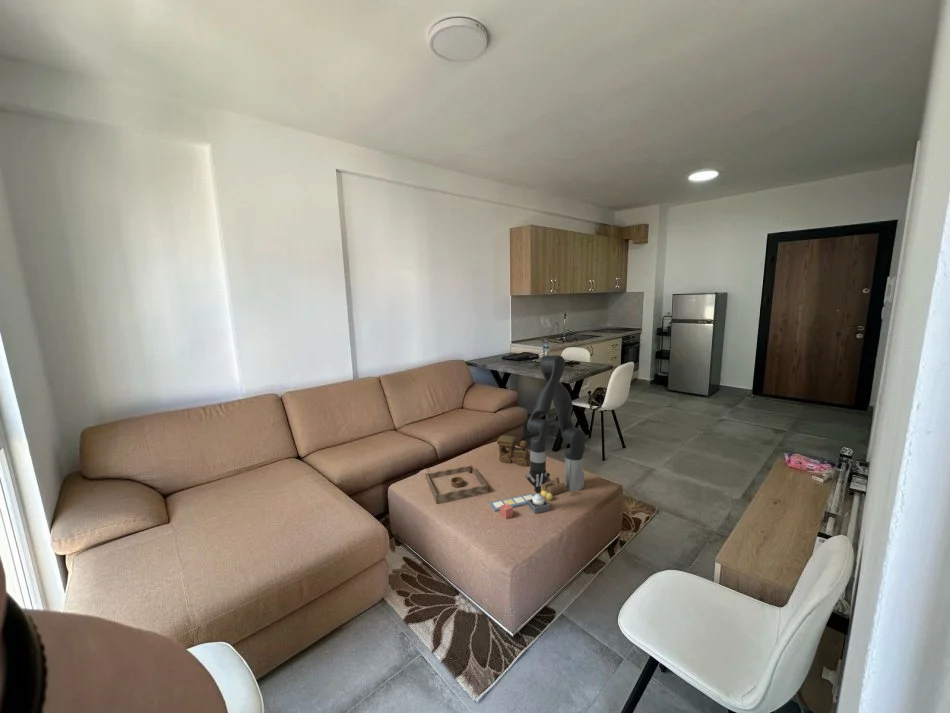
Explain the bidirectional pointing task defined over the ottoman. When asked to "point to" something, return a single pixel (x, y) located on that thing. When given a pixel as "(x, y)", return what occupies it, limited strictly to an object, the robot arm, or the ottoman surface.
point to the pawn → (546, 494)
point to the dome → (538, 500)
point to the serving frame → (458, 493)
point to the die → (506, 511)
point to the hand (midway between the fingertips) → (537, 492)
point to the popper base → (540, 508)
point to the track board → (511, 501)
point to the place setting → (459, 480)
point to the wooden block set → (554, 486)
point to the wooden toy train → (513, 451)
